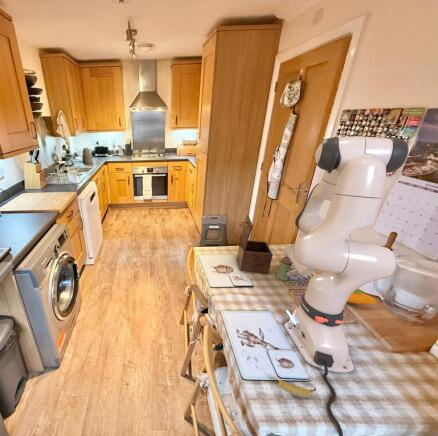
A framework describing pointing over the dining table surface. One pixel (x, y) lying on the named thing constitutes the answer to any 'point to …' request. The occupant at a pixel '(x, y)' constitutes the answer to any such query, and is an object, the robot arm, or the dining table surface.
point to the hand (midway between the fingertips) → (283, 268)
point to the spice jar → (284, 269)
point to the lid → (245, 231)
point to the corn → (360, 298)
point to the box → (255, 257)
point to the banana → (295, 389)
